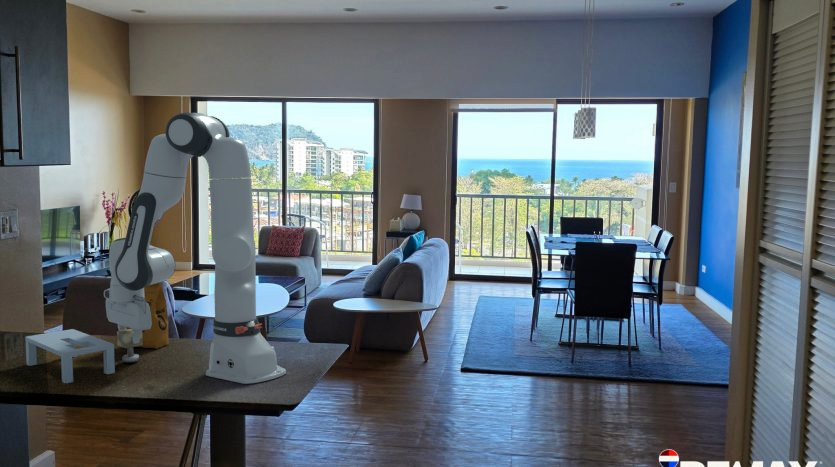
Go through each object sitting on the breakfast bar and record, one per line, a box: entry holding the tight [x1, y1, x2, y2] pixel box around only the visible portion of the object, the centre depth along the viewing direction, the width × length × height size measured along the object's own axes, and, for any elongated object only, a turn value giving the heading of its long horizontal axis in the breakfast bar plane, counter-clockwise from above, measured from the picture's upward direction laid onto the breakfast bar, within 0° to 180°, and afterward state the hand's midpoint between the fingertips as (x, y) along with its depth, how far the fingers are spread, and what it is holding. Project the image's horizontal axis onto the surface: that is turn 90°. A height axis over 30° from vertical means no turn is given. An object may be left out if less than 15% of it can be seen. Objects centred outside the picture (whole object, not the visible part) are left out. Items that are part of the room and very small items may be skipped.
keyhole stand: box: [25, 328, 116, 384], centre depth 194 cm, size 26×13×8 cm, turn 49°
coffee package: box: [126, 282, 169, 350], centre depth 218 cm, size 10×12×22 cm
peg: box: [116, 329, 143, 363], centre depth 200 cm, size 5×5×8 cm
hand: (129, 341), depth 200 cm, fingers closed on peg, 5 cm apart
